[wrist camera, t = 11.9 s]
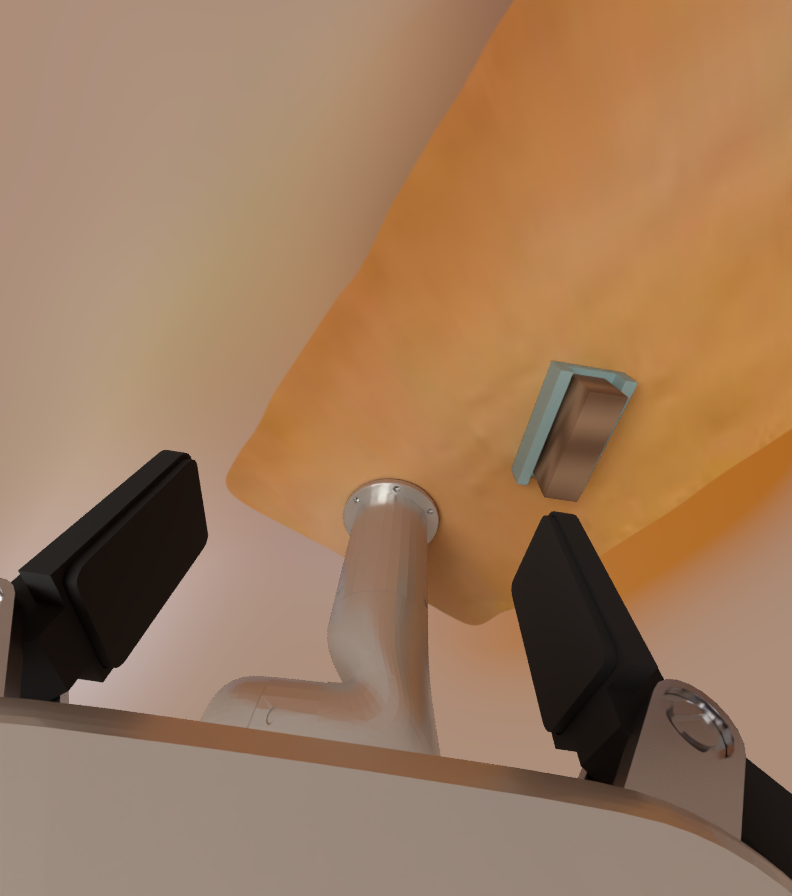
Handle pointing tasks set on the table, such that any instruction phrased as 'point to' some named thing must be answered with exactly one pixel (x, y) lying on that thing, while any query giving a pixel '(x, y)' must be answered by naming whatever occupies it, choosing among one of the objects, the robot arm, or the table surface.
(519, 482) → the grey-blue channel block
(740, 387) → the table surface
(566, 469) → the walnut strip
